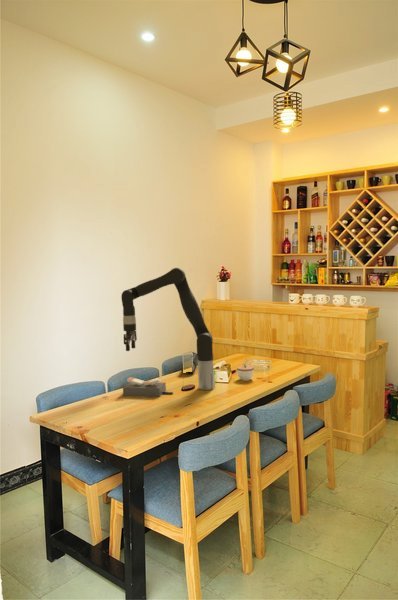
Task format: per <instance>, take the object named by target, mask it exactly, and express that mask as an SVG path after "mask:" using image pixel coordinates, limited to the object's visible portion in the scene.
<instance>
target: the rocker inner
mask: <svg viewBox="0 0 398 600" xmlns="http://www.w3.org/2000/svg"><path fill="white" fill-rule="evenodd" d="M161 381H162V378H161V377H158V378H153V379H149V380H147V381H145V383H144V385H149V384H151V385H154V384H155V383H160V382H161Z"/></svg>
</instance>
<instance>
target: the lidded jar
mask: <svg viewBox="0 0 398 600" xmlns="http://www.w3.org/2000/svg"><path fill="white" fill-rule="evenodd" d="M254 368H255V367H254V366H251V365H246V364H244V365H239V366H237V367H236V373H237V377H238V378H239V379H240V380H241V381H243V382H246V381H250V380H251V379H253V377H254V371H255V370H254Z"/></svg>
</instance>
